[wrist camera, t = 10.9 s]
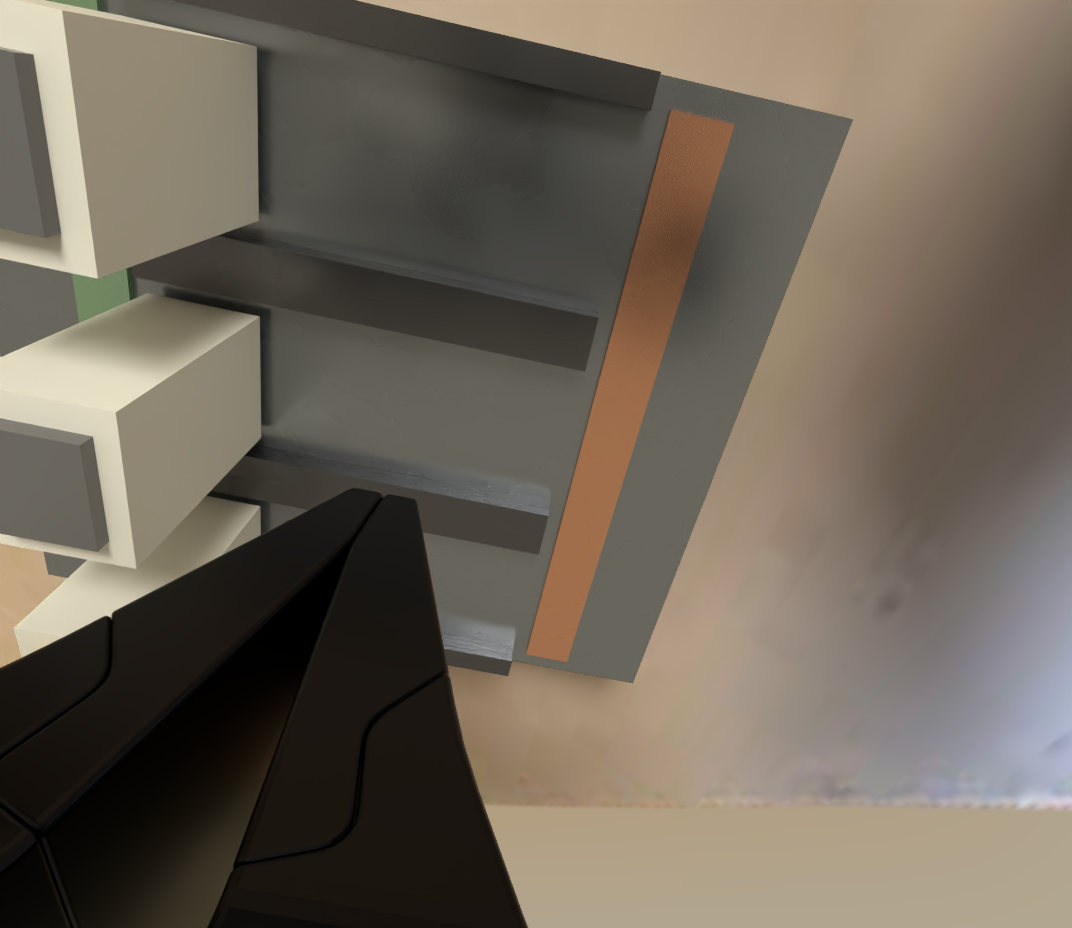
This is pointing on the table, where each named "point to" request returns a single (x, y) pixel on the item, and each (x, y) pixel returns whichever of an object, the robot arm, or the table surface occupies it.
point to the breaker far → (139, 572)
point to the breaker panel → (488, 303)
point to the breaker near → (120, 138)
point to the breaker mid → (124, 426)
